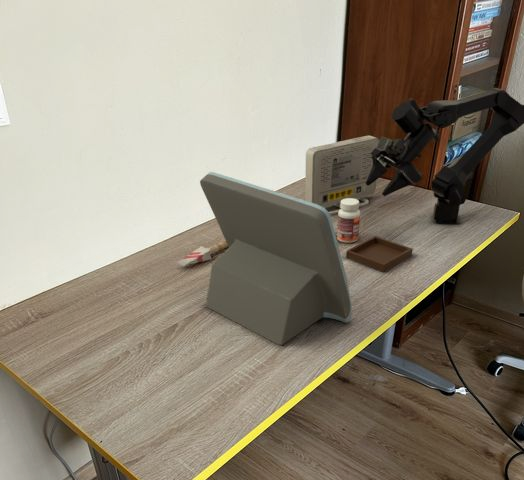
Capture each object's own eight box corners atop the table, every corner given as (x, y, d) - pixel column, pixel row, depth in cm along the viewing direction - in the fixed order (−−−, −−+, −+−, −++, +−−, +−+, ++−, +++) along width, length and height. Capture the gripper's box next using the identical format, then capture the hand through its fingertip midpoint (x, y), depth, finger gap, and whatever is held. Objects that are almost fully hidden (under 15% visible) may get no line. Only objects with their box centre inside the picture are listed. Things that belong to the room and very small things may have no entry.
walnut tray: (374, 242, 158) (375, 235, 157) (411, 255, 151) (412, 248, 150) (346, 258, 151) (346, 250, 150) (383, 272, 144) (384, 264, 143)
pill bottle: (356, 244, 158) (359, 206, 151) (335, 242, 160) (336, 204, 153) (360, 235, 163) (362, 198, 156) (339, 233, 164) (341, 196, 158)
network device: (363, 193, 190) (367, 133, 179) (380, 201, 184) (385, 139, 172) (301, 210, 180) (301, 147, 168) (316, 218, 174) (318, 153, 162)
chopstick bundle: (174, 257, 148) (227, 235, 160) (175, 266, 150) (227, 244, 162) (184, 261, 146) (236, 238, 158) (185, 270, 147) (237, 247, 160)
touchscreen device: (355, 318, 126) (362, 190, 108) (298, 358, 116) (295, 224, 98) (249, 270, 147) (239, 156, 129) (192, 301, 136) (173, 181, 118)
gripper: (379, 117, 154) (342, 162, 158) (417, 133, 140) (375, 183, 143) (401, 142, 161) (364, 185, 164) (439, 160, 146) (398, 207, 150)
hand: (374, 189), depth 155 cm, fingers open, 9 cm apart
